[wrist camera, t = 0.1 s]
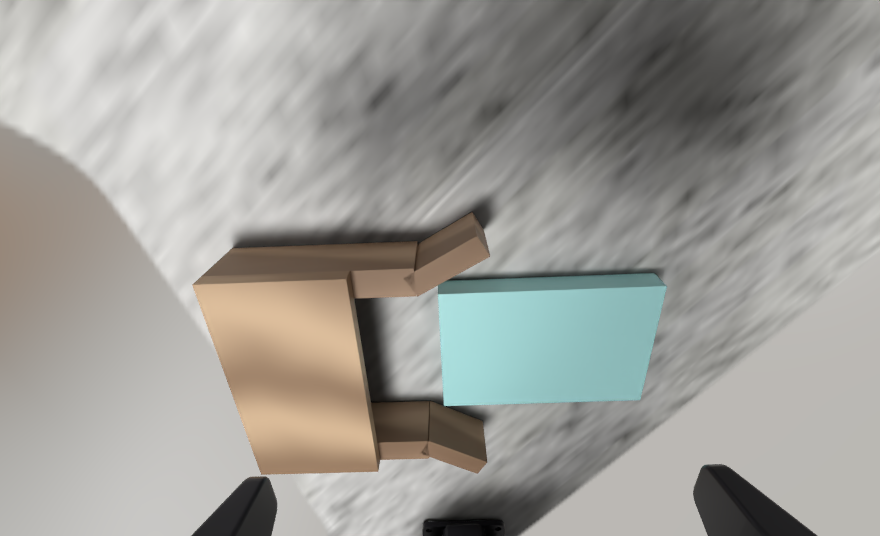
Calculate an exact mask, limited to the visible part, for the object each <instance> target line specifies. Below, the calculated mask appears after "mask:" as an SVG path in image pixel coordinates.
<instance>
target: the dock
mask: <svg viewBox="0 0 880 536" xmlns="http://www.w3.org/2000/svg"><path fill="white" fill-rule="evenodd" d="M488 257H490V254H489V250H488V246H487V241H486V237H485V233H484V230H483V228H482V227H481V225H480V223H479V222H478V220H477V219H476V217H475V215H474V214H473V212H471V213H469V214H468V215H466V216H464V217H463V218H461V219H459V220H457V221H456V222H454V223H452V224H451V225H449V226H447V227H446V228H444V229H442V230H441V231H439V232H437V233H435V234H434V235H432V236H430V237H429V238H427V239H425V240H424V241H422V242H420V243H419V244H418V243H417V241H407V242H381V243H355V244H329V245H303V246H277V247H251V248H232V249H231V250H230V251H229V252H228V253H226V254H225V255H224V256H223V257H222V258H221V259H220V260H219V261H218V262H217V263H216V264H214V265H213V266H212V267H211V268H210V269H209V270H208V271H207V272H206V273H205V274H204V275H202V276H201V277H200V278H199V279H198V280H197V281H196V282H195V283H194V284H193V288H194V291H195V294H196V296H197V299H198V302H199V305H200V307H201V310H202V313H203V316H204V318H205V321H206V324H207V327H208V329H209V332H210V335H211V338H212V340H213V343H214V346H215V349H216V351H217V354H218V357H219V360H220V362H221V365H222V368H223V371H224V373H225V376H226V379H227V382H228V384H229V387H230V390H231V392H232V395H233V398H234V400H235V403H236V406H237V409H238V412H239V414H240V417H241V420H242V423H243V425H244V428H245V431H246V434H247V436H248V439H249V442H250V445H251V447H252V450H253V453H254V456H255V458H256V461H257V464H258V467H259V469H260V472H261V474H302V473H340V472H378V470H379V463H380V460H390V459H427V458H429V457H432V458H435V459H437V460H440V461H443V462H446V463H449V464H452V465H454V466H457V467H460V468H463V469H466V470H468V471H471V472H474V473H477V474H478V473H479V471H480V470H481V469H482V468H483V467H484V465H485V464H486V463H487V455H486V446H485V438H484V429H483V421H481V420H479V419H476V418H473V417H471V416H468V415H466V414H463V413H461V412H458V411H455V410H453V409H450V408H448V407H445V406H442V405H440V404H437V403H435V402H432V401H430V402H429V401H413V402H380V403H371V400H370V394H369V388H368V382H367V376H366V369H365V363H364V357H363V351H362V345H361V338H360V332H359V326H358V320H357V314H356V307H355V301H354V298H381V297H409V296H416V295H417V297H418V296H419V295H421V294H423V293H425V292H427V291H428V290H430V289H432V288H434V287H436V286H438V285H439V284H441V283H443V282H445V281H447V280H448V279H450V278H452V277H454V276H456V275H457V274H459V273H461V272H463V271H465V270H466V269H468V268H470V267H472V266H474V265H475V264H477V263H479V262H481V261H483V260H485V259H486V258H488Z"/></svg>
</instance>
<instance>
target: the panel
mask: <svg viewBox="0 0 880 536" xmlns="http://www.w3.org/2000/svg"><path fill="white" fill-rule="evenodd" d="M666 288H667V286H666V285H665V284H664V283H663V282H662V281H661V280H660V279H659V277H658V276H657V275H656V274H655V273H641V274H614V275H587V276H560V277H534V278H507V279H480V280H453V281H445V282H443V283H441V284H439V285H438V304H439V323H440V342H441V361H442V379H443V398H444V406H461V405H494V404H527V403H560V402H593V401H626V400H640V399H641V394H642V390H643V386H644V382H645V377H646V373H647V369H648V365H649V360H650V356H651V352H652V348H653V343H654V339H655V335H656V331H657V326H658V322H659V318H660V314H661V309H662V305H663V301H664V297H665V292H666Z"/></svg>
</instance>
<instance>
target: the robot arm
mask: <svg viewBox="0 0 880 536" xmlns="http://www.w3.org/2000/svg"><path fill="white" fill-rule="evenodd" d="M693 495H694V501H695V504H696V506H697V509H698V511H699V514H700V517H701V519H702V522H703V524H704V527H705V529H706V532H707V535H708V536H817V535H816V534H815V533H813V532H812V531H811V530H809V529H808V528H807V527H806V526H804V525H803V524H802V523H800V522H799V521H798V520H797V519H795V518H794V517H793V516H791V515H790V514H789V513H788V512H786V511H785V510H784V509H782V508H781V507H780V506H779V505H777V504H776V503H775V502H773V501H772V500H771V499H769V498H768V497H767V496H765V495H764V494H763V493H762V492H760V491H759V490H758V489H757V488H755V487H754V486H753V485H751V484H750V483H749V482H748V481H746V480H745V479H744V478H742V477H741V476H740V475H739V474H737V473H736V472H735V471H733V470H732V469H731V468H729V467H727V466H725V465H722V464H713V465H704V466H703V467H702V468H701V470H700V473H699V476H698V478H697V481H696V484H695V486H694V491H693ZM276 513H277V500H276V497H275V494H274V491H273V488H272V485H271V482H270V480H269V478H267V477H249V478H247V479H246V480H244V481H243V482H242V484H240V485H239V486H238V488H237V489H236V490H235V491H234V492H233V493H232V494H231V495H230V496H229V497H228V498H227V499H226V500H225V501H224V502H223V503H222V504H221V505H220V506H219V507H218V509H217V510H216V511H215V512H214V513H213V514H212V515H211V516H210V517H209V518H208V519H207V520H206V521H205V522H204V523H203V524H202V525H201V526H200V527H199V528H198V529H197V530H196V531H195V532H194V533H193V535H192V536H271V535H272V531H273V526H274V522H275V517H276ZM422 531H423V536H504V523H503V522H502V521H500V520H482V521H439V522H425V523H424V524H423V529H422Z"/></svg>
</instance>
